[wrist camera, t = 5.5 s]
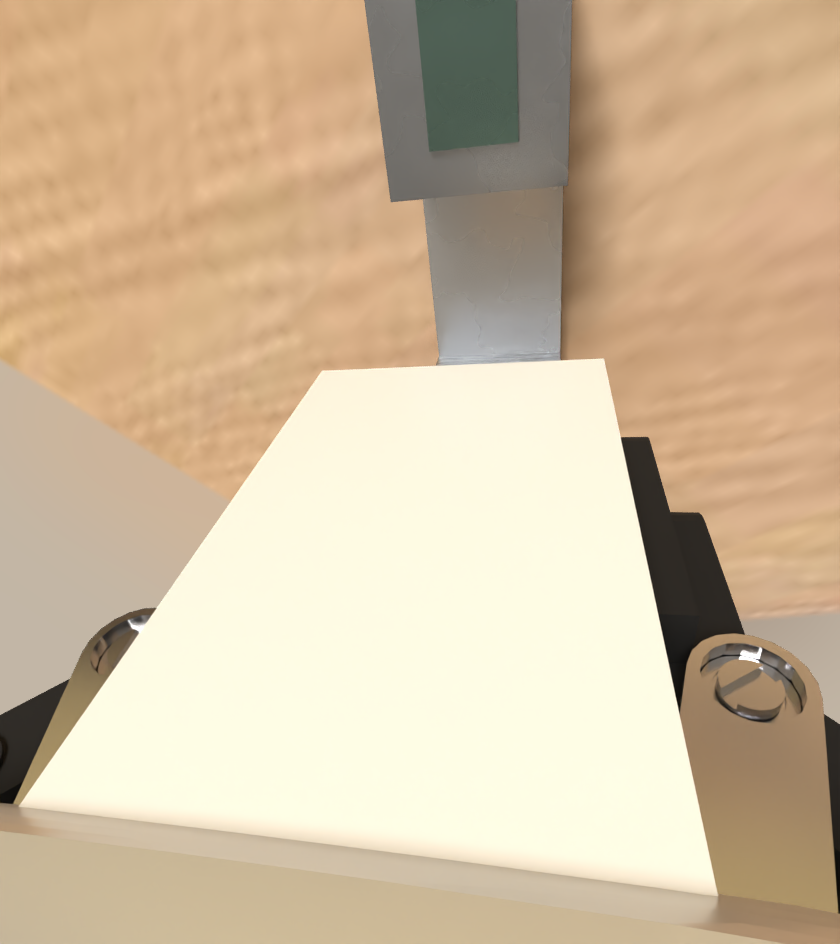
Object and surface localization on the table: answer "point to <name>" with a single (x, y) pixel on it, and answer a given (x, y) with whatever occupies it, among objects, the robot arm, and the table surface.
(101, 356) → the table surface
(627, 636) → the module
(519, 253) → the rail
